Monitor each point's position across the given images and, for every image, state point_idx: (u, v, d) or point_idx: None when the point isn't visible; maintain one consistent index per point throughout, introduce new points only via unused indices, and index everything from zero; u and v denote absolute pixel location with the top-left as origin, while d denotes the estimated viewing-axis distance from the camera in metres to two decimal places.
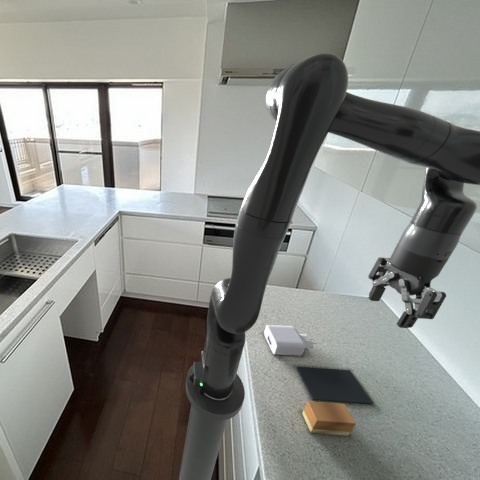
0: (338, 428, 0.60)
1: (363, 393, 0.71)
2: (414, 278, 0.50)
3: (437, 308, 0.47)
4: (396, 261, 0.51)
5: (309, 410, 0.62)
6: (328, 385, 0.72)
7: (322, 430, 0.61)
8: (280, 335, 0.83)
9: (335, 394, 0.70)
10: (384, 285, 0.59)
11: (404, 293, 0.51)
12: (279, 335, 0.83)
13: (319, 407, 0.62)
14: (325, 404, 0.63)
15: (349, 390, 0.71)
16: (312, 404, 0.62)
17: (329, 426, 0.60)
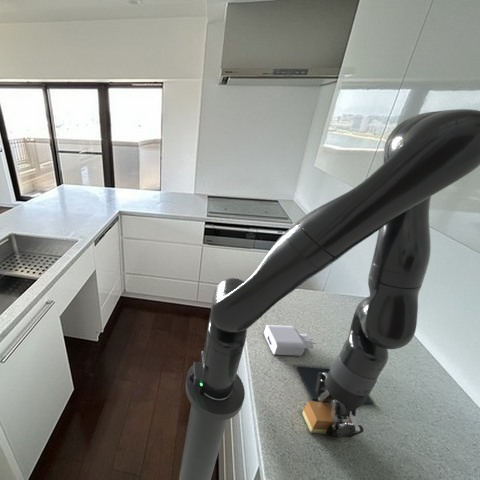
0: None
1: None
2: (343, 404, 0.56)
3: (354, 435, 0.55)
4: (328, 386, 0.57)
5: (309, 410, 0.62)
6: None
7: (322, 430, 0.61)
8: (280, 335, 0.83)
9: None
10: (328, 402, 0.63)
11: (333, 413, 0.58)
12: (279, 335, 0.83)
13: (319, 407, 0.62)
14: (325, 404, 0.63)
15: None
16: (312, 404, 0.62)
17: None
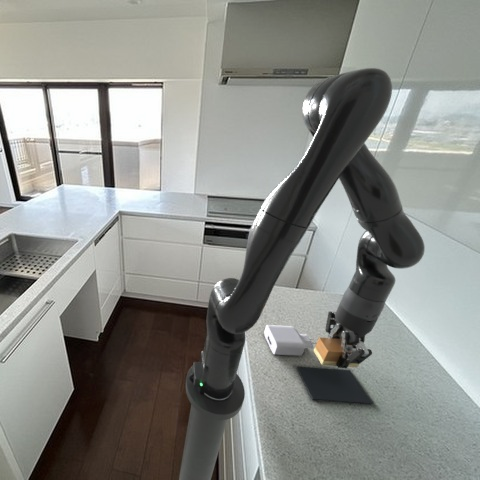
0: None
1: (363, 393, 0.71)
2: (352, 332, 0.60)
3: (363, 359, 0.59)
4: (339, 317, 0.61)
5: (321, 345, 0.66)
6: (328, 385, 0.72)
7: (332, 362, 0.65)
8: (280, 335, 0.83)
9: (335, 394, 0.70)
10: (337, 338, 0.68)
11: (343, 343, 0.62)
12: (279, 335, 0.83)
13: (330, 341, 0.66)
14: (335, 339, 0.67)
15: (349, 390, 0.71)
16: (323, 339, 0.67)
17: None
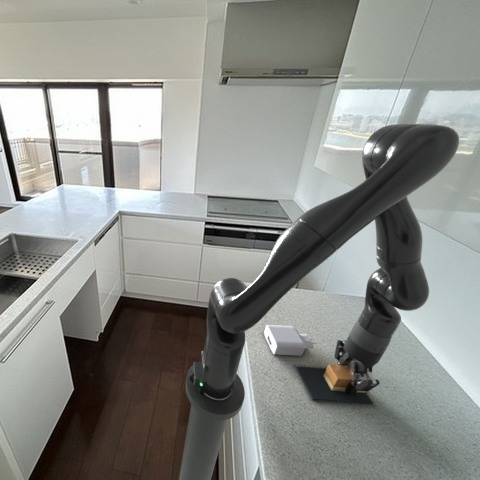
0: None
1: (363, 393, 0.71)
2: (361, 363, 0.65)
3: (371, 388, 0.64)
4: (348, 348, 0.67)
5: (330, 371, 0.72)
6: (328, 385, 0.72)
7: (342, 388, 0.70)
8: (280, 335, 0.83)
9: (335, 394, 0.70)
10: None
11: (352, 371, 0.67)
12: (279, 335, 0.83)
13: (338, 368, 0.71)
14: (344, 366, 0.72)
15: None
16: (332, 366, 0.72)
17: None
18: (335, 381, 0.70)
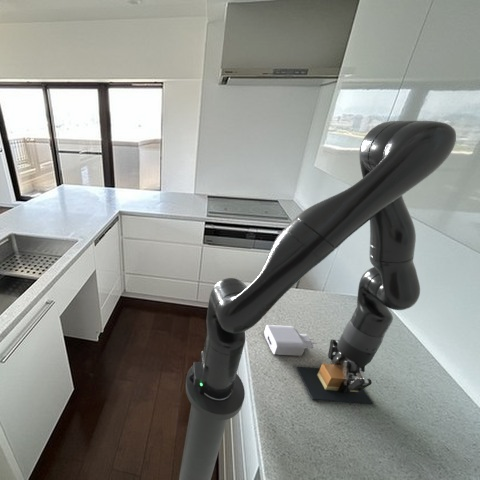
0: None
1: (363, 393, 0.71)
2: (353, 362, 0.65)
3: (363, 387, 0.64)
4: (341, 348, 0.67)
5: (324, 371, 0.72)
6: None
7: (335, 387, 0.70)
8: (280, 335, 0.83)
9: (335, 394, 0.70)
10: (339, 364, 0.73)
11: (345, 371, 0.67)
12: (279, 335, 0.83)
13: (332, 368, 0.71)
14: (337, 366, 0.72)
15: None
16: (326, 366, 0.72)
17: None
18: (329, 380, 0.69)
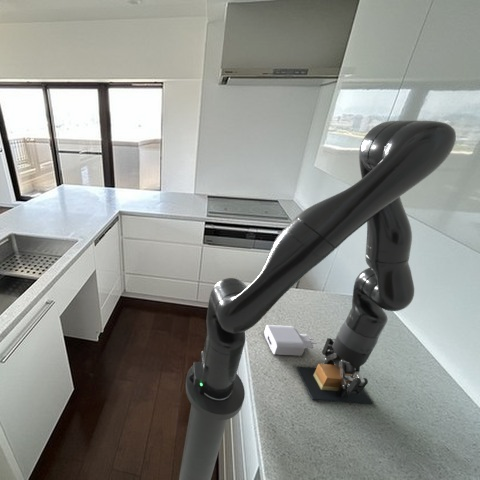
0: None
1: (363, 393, 0.71)
2: (349, 363, 0.66)
3: (361, 389, 0.63)
4: (336, 348, 0.67)
5: (320, 371, 0.72)
6: None
7: (331, 387, 0.70)
8: (280, 335, 0.83)
9: (335, 394, 0.70)
10: (333, 361, 0.74)
11: (341, 372, 0.67)
12: (279, 335, 0.83)
13: (328, 368, 0.71)
14: (333, 366, 0.72)
15: None
16: (322, 366, 0.72)
17: (337, 383, 0.69)
18: (324, 380, 0.70)
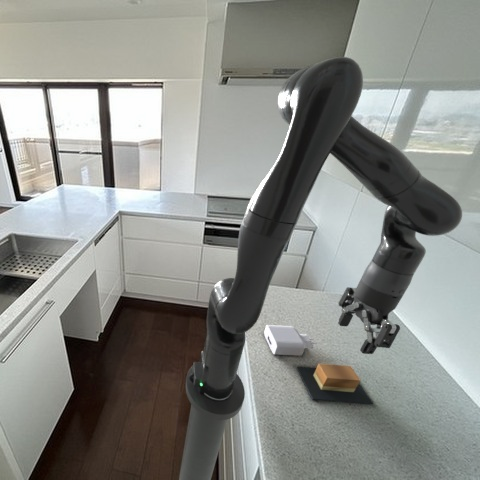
0: (345, 385, 0.70)
1: (363, 393, 0.71)
2: (375, 311, 0.56)
3: (393, 339, 0.53)
4: (360, 294, 0.57)
5: (320, 371, 0.72)
6: None
7: (331, 387, 0.70)
8: (280, 335, 0.83)
9: (335, 394, 0.70)
10: (352, 312, 0.64)
11: (366, 323, 0.57)
12: (279, 335, 0.83)
13: (328, 368, 0.71)
14: (333, 366, 0.72)
15: None
16: (322, 366, 0.72)
17: (337, 383, 0.69)
18: (324, 380, 0.70)
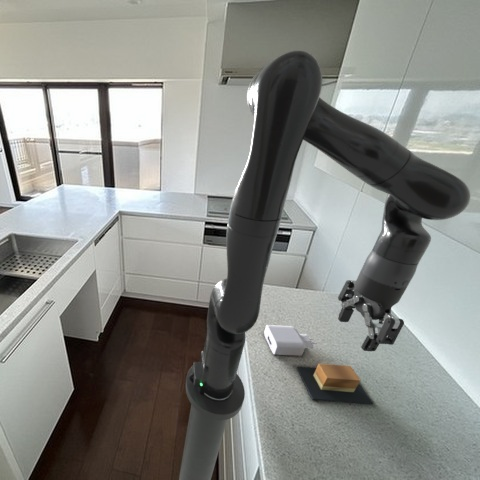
0: (345, 385, 0.70)
1: (363, 393, 0.71)
2: (376, 304, 0.51)
3: (396, 334, 0.49)
4: (360, 287, 0.52)
5: (320, 371, 0.72)
6: None
7: (331, 387, 0.70)
8: (280, 335, 0.83)
9: (335, 394, 0.70)
10: (352, 307, 0.60)
11: (367, 318, 0.53)
12: (279, 335, 0.83)
13: (328, 368, 0.71)
14: (333, 366, 0.72)
15: None
16: (322, 366, 0.72)
17: (337, 383, 0.69)
18: (324, 380, 0.70)
